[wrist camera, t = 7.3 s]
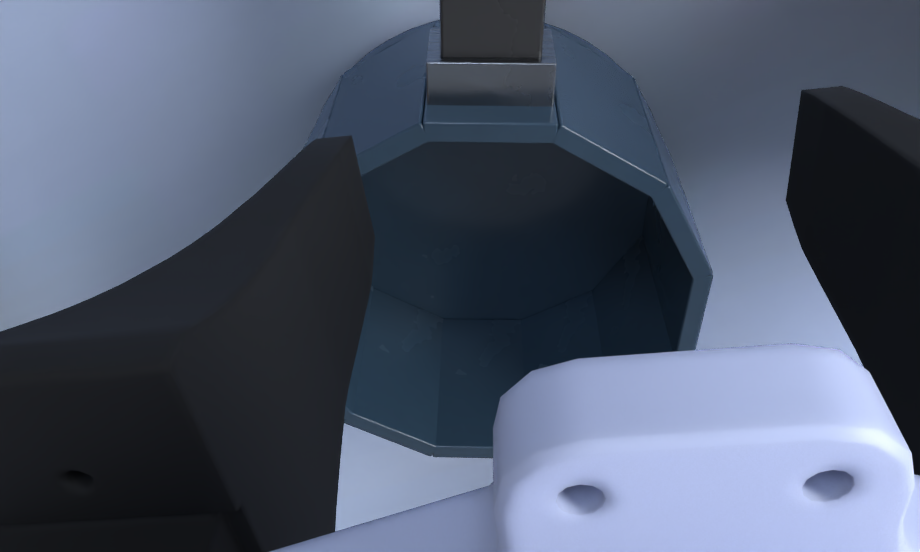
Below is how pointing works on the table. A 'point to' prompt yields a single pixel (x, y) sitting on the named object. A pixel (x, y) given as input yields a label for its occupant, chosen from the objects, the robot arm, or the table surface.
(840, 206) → the robot arm
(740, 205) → the table surface
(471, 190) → the saucepan
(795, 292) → the table surface
